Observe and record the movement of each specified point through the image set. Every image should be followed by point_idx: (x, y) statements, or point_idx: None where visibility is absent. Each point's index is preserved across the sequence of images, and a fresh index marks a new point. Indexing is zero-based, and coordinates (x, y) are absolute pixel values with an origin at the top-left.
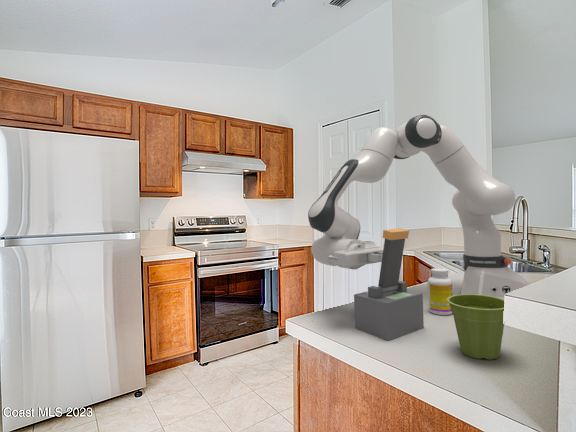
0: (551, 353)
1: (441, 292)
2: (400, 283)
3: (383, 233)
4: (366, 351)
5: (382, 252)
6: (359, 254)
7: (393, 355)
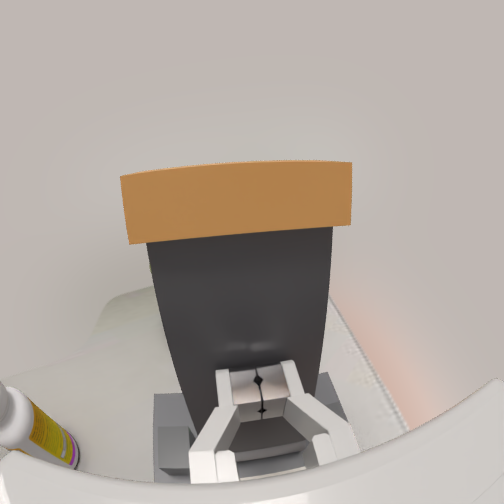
0: (141, 290)
1: (43, 416)
2: (188, 433)
3: (349, 190)
4: (373, 389)
5: (203, 463)
6: (442, 413)
7: (337, 365)
